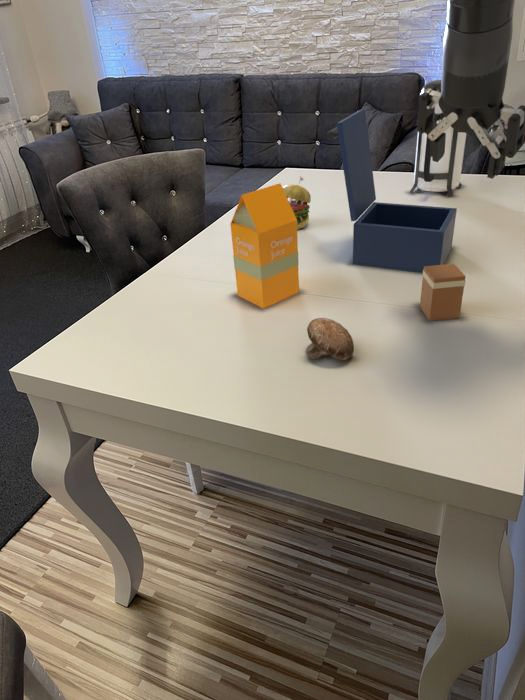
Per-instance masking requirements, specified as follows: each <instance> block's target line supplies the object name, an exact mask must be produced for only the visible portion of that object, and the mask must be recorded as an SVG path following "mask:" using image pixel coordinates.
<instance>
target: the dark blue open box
mask: <svg viewBox="0 0 525 700" xmlns="http://www.w3.org/2000/svg"><path fill="white" fill-rule="evenodd" d="M456 217H457V208H456V207H444V206H429V205H418V204H403V203H402V204H401V203H389V202H379V201H378V202H377V201H374V202H373V203H372V204H371V205H370V206H369V207H368V208H367V209H366V211H365V212H364V213H363V214H362V215H361V216H360V217H359V218H358V219H357V220H356V221H354V223H353V228H352V229H353V231H352V265H353V266H354V265H355V266H356V265H357V266H362V267H370V268H371V267H372V268H378V269H387V270H393V271H395V270H396V271H403V272H410V273H417V274H418V273H420V274H423V270H424V266H434V265H444V264H446V261H447V259H448V258H449V257H448V256H449V255H450V253H451V250H452V248H453V242H454V233H455V226H456V225H455V224H456Z"/></svg>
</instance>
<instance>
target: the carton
mask: <svg viewBox="0 0 525 700" xmlns="http://www.w3.org/2000/svg"><path fill="white" fill-rule="evenodd" d="M465 286H466V275H465V273H463V272H462V270H461V269H460V268H459V267H458V266H457V265H456V264H455V263H444V265H434V266H424V270H423V273H422V280H421V291H420V298H419V299H420V300H419V308H420V309H421V311H422V312H423V313H424V316H425V317H426V318H427V319H428V321H429V322H430V321H439V320H441V321H442V320H451V319H459V318H460V316H461V309H462V303H463V296H464V289H465Z"/></svg>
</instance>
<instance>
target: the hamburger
mask: <svg viewBox="0 0 525 700" xmlns="http://www.w3.org/2000/svg"><path fill="white" fill-rule="evenodd" d="M302 181H305V178H304V177H302V176H301V175H300V176H299V183H298V184H294V183H292V184H291V183H290V184H286V185H282V188H283V190H284V192H285V195H286V197H287V199H288V201H289V203H290V206H291V208H292V210H293V212H294V214H295V217H296V219H297V231H299V230H301V229H302V228H304V227H305V226H306V225H307V224H308V222H309V220H310V215H309V213H310V208H311V206H310V203H311V199H312V197H311V194H310V192H309V190H308V189H307V188H306V187H303V186H302V185H300V182H302ZM289 199H290V200H289Z"/></svg>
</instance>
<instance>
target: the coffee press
mask: <svg viewBox="0 0 525 700" xmlns="http://www.w3.org/2000/svg"><path fill="white" fill-rule="evenodd" d="M441 82H442V79H436V80H432V81H429V82H427V83H425V84H424V85H423V87H422V88H421V91H420V92H419V95H418V96H419V97H420V96H421V95H422V94H423V93H424V92H425V91H426V90H427V89H428V88H429V87H430V86H431V85H433V86H435V87H436V89H437V92H440V93H441ZM444 118H445V116H444V114H443V112H442V111H441V109H440V107H439V103H438V104H437V105H436V106H435V114H434V122H435V123H437V124H438V123H439V122H441V121H442V120H443V119H444ZM444 133H446V138H445V153H444V156H443V157H442V158H441V159H440V160H439V161H438V162H435V161H433V160H432V159H433V157H431V155H430V139H429V137H428V135H427V134H426V133H423V134H420V133H419V132H418V131H417V136H416V137H417V138H416V149H415V159H414V160H415V161H414V162H415V163H414V174H413V186H412V187H411V189H410V190H409V193H410V194H411V195H413V194H414V193H415V194H419V193H420V192H421V191H424V192H425V191H426V192H434V193H435V192H441V193H443V194H444V196H445V197H447V198H452V197H454V192H453V190H454V189H458V190H459V189H461V188H462V185H463V184H462V183H461V177H462V169H463V164H464V163H463V161H464V156H465V155H464V154H465V148H466V140H467V133H465V132H456V131H454V129H453V128H452V127H451V126H450V127H449V128H447V129H446V130H445V131H444Z"/></svg>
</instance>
